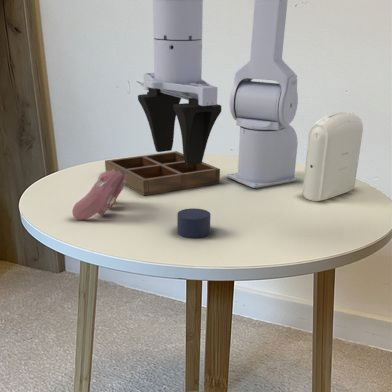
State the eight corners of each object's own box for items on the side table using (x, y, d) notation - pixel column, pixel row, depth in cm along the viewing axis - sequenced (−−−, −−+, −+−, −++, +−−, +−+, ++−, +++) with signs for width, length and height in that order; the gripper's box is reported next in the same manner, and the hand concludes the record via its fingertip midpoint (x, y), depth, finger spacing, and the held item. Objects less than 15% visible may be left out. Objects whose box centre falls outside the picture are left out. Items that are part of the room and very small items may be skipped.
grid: (176, 164, 111) (176, 151, 110) (219, 183, 101) (220, 168, 100) (105, 174, 105) (104, 160, 104) (144, 195, 94) (143, 180, 93)
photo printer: (319, 203, 92) (330, 119, 86) (297, 197, 95) (306, 114, 88) (357, 191, 98) (370, 111, 92) (336, 185, 101) (346, 107, 94)
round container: (198, 224, 83) (199, 206, 82) (216, 234, 80) (216, 215, 79) (171, 230, 81) (171, 211, 80) (188, 240, 78) (188, 221, 77)
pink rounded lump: (97, 233, 84) (115, 190, 80) (68, 216, 84) (85, 173, 80) (118, 211, 92) (136, 171, 89) (92, 196, 92) (109, 155, 88)
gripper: (120, 35, 74) (125, 148, 81) (179, 44, 63) (179, 174, 70) (170, 34, 77) (170, 143, 84) (234, 42, 67) (229, 166, 74)
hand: (178, 157), depth 77 cm, fingers open, 7 cm apart
